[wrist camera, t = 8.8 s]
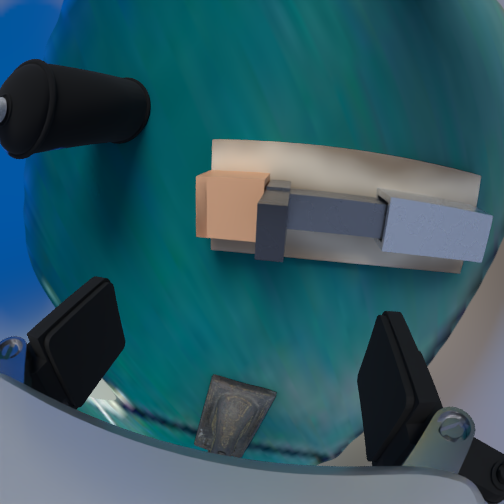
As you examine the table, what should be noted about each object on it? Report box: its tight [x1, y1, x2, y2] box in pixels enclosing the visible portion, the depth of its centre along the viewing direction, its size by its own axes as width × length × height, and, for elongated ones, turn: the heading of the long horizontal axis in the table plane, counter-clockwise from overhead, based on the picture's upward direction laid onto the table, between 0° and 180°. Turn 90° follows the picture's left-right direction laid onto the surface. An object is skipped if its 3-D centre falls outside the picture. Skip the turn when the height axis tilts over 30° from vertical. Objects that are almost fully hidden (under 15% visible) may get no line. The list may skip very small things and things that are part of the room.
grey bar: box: [255, 180, 388, 262], centre depth 25 cm, size 4×16×10 cm, turn 87°
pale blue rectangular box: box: [373, 188, 493, 263], centre depth 26 cm, size 5×12×5 cm, turn 87°
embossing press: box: [194, 375, 276, 458], centre depth 33 cm, size 11×24×30 cm, turn 163°
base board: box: [211, 139, 481, 274], centre depth 30 cm, size 12×30×2 cm, turn 87°
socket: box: [196, 170, 270, 242], centre depth 28 cm, size 6×6×5 cm
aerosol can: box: [0, 59, 150, 159], centre depth 21 cm, size 8×8×20 cm
